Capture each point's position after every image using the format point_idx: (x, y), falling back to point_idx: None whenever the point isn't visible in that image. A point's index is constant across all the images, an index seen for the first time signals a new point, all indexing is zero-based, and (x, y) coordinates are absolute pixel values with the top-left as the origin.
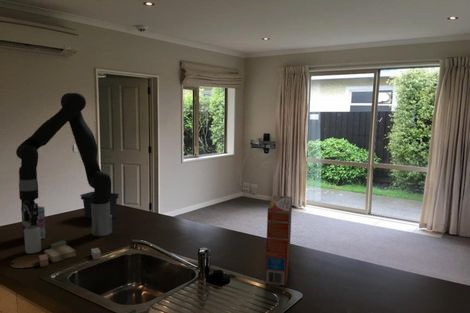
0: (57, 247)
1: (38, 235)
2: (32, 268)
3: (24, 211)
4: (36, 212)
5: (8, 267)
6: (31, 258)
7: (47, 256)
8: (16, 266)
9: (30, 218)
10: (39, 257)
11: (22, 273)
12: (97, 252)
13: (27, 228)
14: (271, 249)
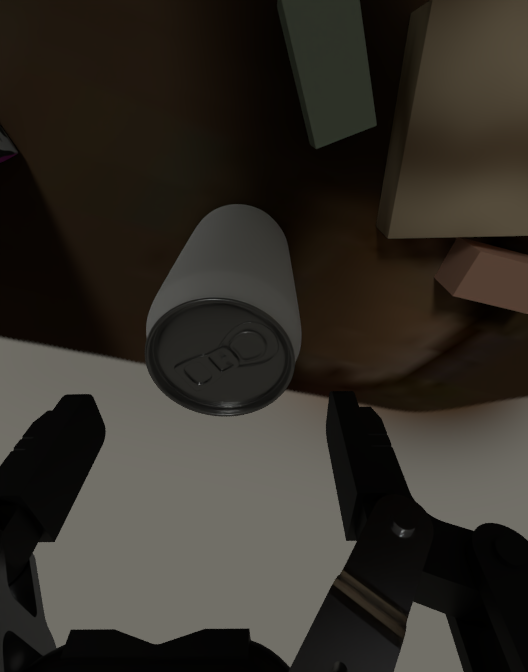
0: (421, 123)
1: (289, 279)
2: (485, 330)
3: (38, 597)
4: (520, 640)
5: (370, 393)
6: (350, 295)
7: (526, 263)
8: (389, 371)
9: (345, 525)
10: (474, 299)
11: (491, 373)
12: None
13: (259, 408)
14: None
